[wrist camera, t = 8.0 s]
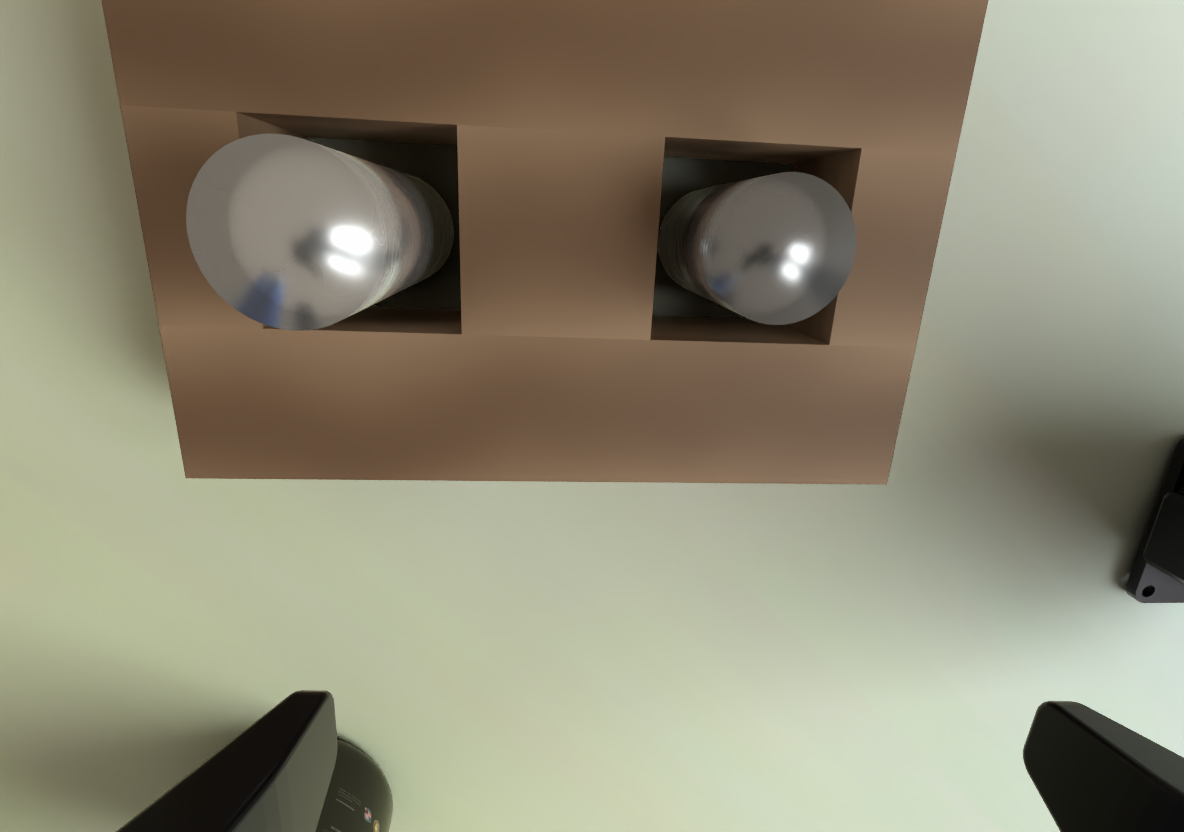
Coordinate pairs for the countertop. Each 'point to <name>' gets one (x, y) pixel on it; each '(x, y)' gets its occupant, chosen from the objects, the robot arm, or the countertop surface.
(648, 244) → the hole block
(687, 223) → the short grey peg
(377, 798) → the supplement bottle
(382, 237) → the steel pin
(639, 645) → the countertop surface
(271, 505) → the countertop surface
